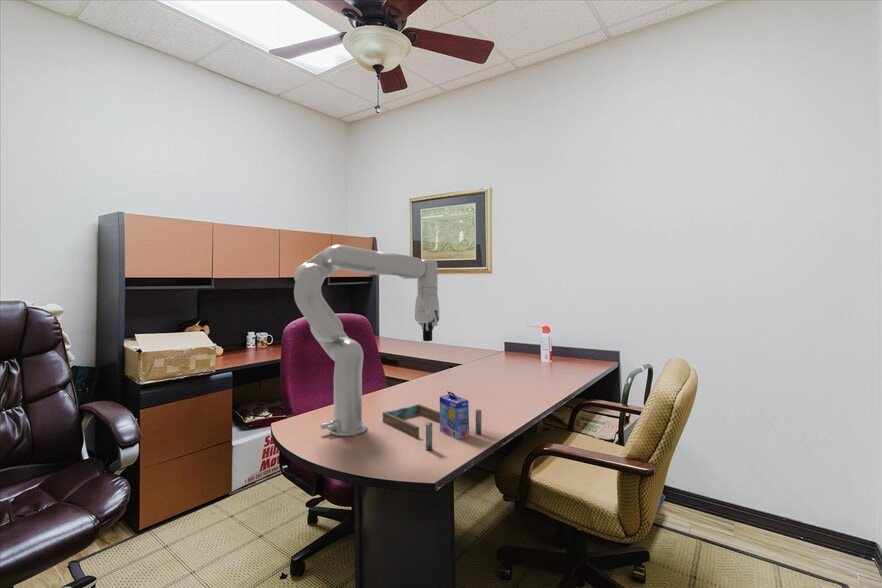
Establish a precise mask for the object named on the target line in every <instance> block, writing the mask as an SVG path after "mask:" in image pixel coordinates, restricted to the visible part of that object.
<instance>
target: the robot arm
mask: <svg viewBox="0 0 882 588" xmlns="http://www.w3.org/2000/svg"><path fill="white" fill-rule="evenodd" d="M338 270H339V271H345V272H346V271H347V272H353V273H360V274H366V275H375V276H381V275H382V276H395V277H397V276H398V277H399V278H402V279H404V280H405V279H406V280H417V296H416V298H415V305H414V320H415V322H417V324H418V325H420V326H421V330H422V341H424V342H432V341H433V331H434V328H435V327H437V326H438V322H439V321H440V304H439V303H440V302H439V297H438V262H437V260H436V259H425V258H424V259H423V258H419V257H415V256H410V255H406V254H398V253H391V252H385V251H380V250H372V249H367V248H363V247H356V246H350V245H344V244H333V245H331V246H328V247H326V248H324V249H323V250H322V251H321V252H319V253H317V254H316V255H314V256H313V257H312V258H310V259H308V260H306V261H305V262H303V263H302V264H300V265H299V266H298V267H297V268H296V269H295V271H294V273H293V279H294V281H295V283H294V286H293V287H294V288H293V296H294V302H295V304H296V306H297V308H298V309H299V311H300V312H301V314H302V316H303V317H304V319H305V320H306V322H307V323H308V324H309V328H310V332H311V334H312V335H313V337H314V338H315V340H316V341H317V342H318V344H319V345H320V346H321V348H322V349H323V350H324V351H325V353H326V354H327V355H328V356H329V358H330V359H331V360H333V362H334V370H333V417H331V419H330V420H329V421H328V422H323V423H320V424H319V428H320V430H326V429H327V431H328V432H329V433H330V434H331V435H333V436H336V437H337V436H338V437H352V436H357V435H360V434H363V433H364V432H366V430H367V428H368V427H367V424H366V423H365V422H363V384H362V383H363V376H362V375H363V365H364V355H365V354H364V349H363V348H362V346H361V344H360V343H359V342H358V341H356V340H355V339H352V338H350V337H349V336H348V335H347V333H346V332H345V331H344V325H343V323H342V321H341V320H340V318H339V317H338V316H337V314H336V313H335V312H334V310H333V309H332V308H331V307H330V305H329V304H328V303H327V301H326V300H325V298H324V296H323V293H322V285H323V284H324V281H325V279H326V278H328V277H329V276H331V275H333V273H335V272H336V271H338Z"/></svg>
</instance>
